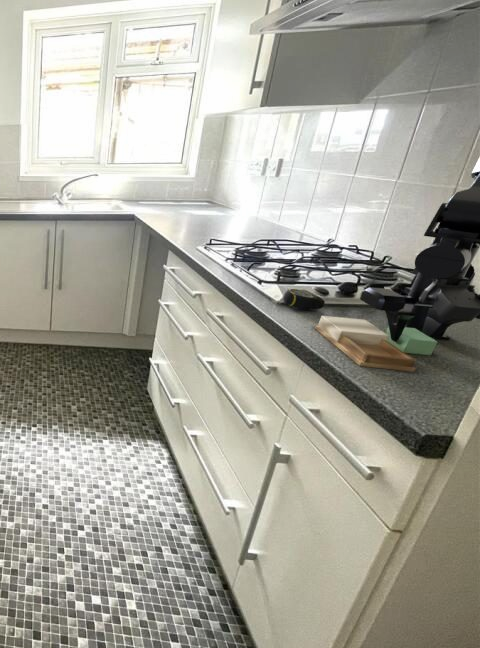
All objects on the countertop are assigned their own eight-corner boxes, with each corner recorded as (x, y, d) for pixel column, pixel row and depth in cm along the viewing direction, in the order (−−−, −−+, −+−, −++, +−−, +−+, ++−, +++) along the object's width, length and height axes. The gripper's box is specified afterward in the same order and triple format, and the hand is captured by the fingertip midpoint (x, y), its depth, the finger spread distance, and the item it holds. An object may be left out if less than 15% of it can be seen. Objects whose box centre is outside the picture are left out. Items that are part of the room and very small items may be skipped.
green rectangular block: (382, 338, 87) (388, 325, 86) (408, 341, 86) (414, 328, 85) (403, 352, 81) (409, 339, 80) (430, 355, 80) (437, 341, 79)
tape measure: (322, 313, 98) (328, 298, 97) (292, 312, 99) (298, 297, 97) (303, 302, 105) (308, 288, 103) (275, 301, 105) (279, 287, 104)
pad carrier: (314, 328, 91) (319, 315, 90) (359, 332, 89) (365, 319, 88) (359, 365, 77) (366, 350, 75) (414, 371, 75) (421, 356, 74)
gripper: (415, 277, 72) (378, 356, 78) (552, 287, 68) (502, 369, 74) (373, 259, 82) (344, 330, 88) (491, 267, 78) (452, 340, 84)
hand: (407, 342), depth 83 cm, fingers closed on green rectangular block, 4 cm apart
